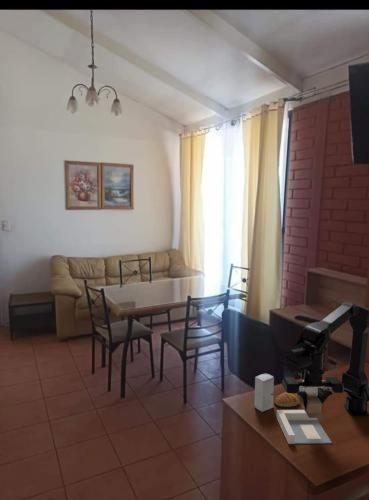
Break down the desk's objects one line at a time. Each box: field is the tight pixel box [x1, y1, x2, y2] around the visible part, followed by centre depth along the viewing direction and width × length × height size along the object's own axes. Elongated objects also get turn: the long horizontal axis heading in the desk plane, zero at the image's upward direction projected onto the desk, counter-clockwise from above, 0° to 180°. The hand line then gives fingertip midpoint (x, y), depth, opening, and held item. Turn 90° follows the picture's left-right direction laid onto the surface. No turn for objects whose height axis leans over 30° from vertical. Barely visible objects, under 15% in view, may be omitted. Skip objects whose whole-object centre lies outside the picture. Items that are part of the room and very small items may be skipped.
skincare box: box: [254, 372, 275, 413], centre depth 134 cm, size 6×4×12 cm
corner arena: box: [276, 409, 333, 445], centre depth 121 cm, size 14×14×3 cm
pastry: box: [273, 391, 301, 408], centre depth 137 cm, size 9×7×4 cm
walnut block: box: [301, 392, 323, 419], centre depth 118 cm, size 7×4×5 cm, turn 1°
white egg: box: [302, 379, 318, 396], centre depth 141 cm, size 10×7×7 cm
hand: (311, 408), depth 118 cm, fingers closed on walnut block, 4 cm apart
